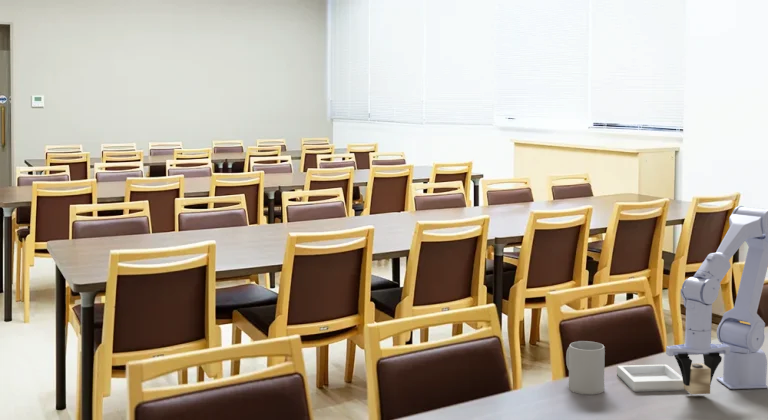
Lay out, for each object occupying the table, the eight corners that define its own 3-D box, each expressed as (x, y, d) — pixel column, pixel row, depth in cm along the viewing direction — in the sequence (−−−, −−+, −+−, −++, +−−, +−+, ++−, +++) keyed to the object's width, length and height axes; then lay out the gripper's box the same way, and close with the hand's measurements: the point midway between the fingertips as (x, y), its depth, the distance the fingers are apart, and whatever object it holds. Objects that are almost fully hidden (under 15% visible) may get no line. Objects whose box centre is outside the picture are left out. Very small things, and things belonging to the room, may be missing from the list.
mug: (611, 391, 203) (612, 347, 202) (582, 396, 200) (583, 352, 199) (580, 377, 214) (581, 336, 213) (553, 382, 211) (553, 340, 210)
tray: (666, 373, 216) (666, 364, 216) (686, 390, 204) (686, 380, 203) (616, 375, 216) (617, 365, 216) (633, 391, 203) (634, 381, 203)
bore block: (702, 387, 201) (702, 362, 201) (710, 393, 197) (710, 368, 196) (683, 387, 201) (684, 363, 200) (691, 394, 197) (691, 368, 196)
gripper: (721, 323, 201) (719, 377, 203) (661, 324, 201) (660, 379, 202) (734, 330, 194) (732, 387, 196) (673, 332, 194) (671, 389, 195)
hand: (696, 384), depth 199 cm, fingers closed on bore block, 4 cm apart
